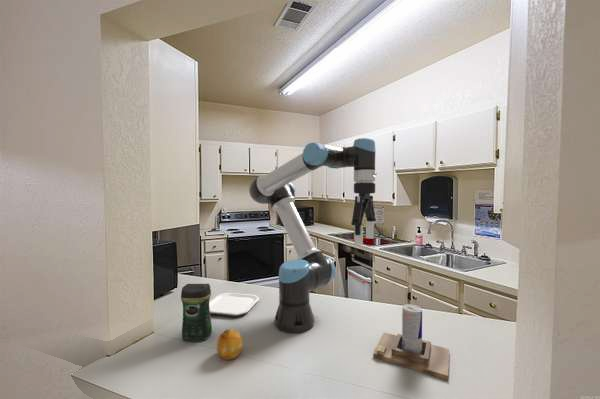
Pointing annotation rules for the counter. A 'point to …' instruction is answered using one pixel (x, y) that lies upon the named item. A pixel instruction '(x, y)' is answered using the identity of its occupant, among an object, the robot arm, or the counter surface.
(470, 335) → the counter surface
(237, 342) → the fruit
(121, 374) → the counter surface
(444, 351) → the socket plate
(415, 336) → the beverage can
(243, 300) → the plate
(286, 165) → the robot arm
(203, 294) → the coffee jar
